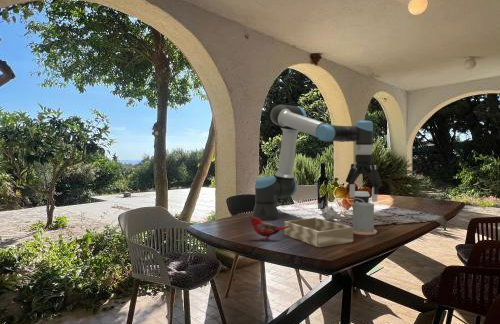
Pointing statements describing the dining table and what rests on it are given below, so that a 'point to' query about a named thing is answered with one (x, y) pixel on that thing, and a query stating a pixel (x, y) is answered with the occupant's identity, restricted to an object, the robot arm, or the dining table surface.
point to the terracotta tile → (365, 232)
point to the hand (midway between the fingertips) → (362, 199)
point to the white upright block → (363, 217)
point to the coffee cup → (361, 196)
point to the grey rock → (329, 213)
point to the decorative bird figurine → (265, 228)
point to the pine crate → (318, 232)
